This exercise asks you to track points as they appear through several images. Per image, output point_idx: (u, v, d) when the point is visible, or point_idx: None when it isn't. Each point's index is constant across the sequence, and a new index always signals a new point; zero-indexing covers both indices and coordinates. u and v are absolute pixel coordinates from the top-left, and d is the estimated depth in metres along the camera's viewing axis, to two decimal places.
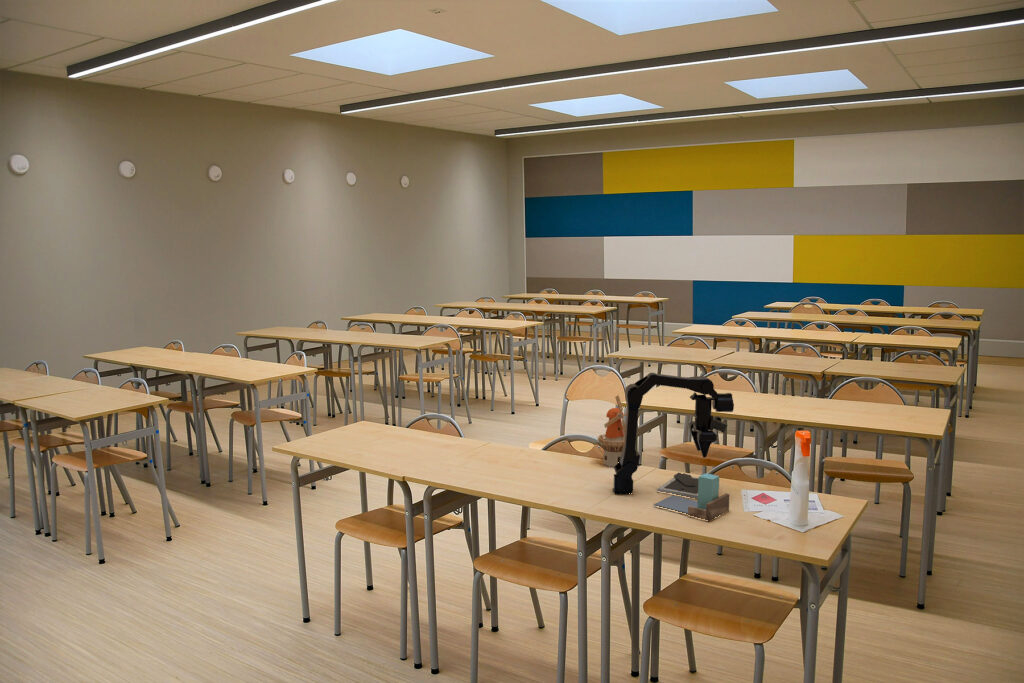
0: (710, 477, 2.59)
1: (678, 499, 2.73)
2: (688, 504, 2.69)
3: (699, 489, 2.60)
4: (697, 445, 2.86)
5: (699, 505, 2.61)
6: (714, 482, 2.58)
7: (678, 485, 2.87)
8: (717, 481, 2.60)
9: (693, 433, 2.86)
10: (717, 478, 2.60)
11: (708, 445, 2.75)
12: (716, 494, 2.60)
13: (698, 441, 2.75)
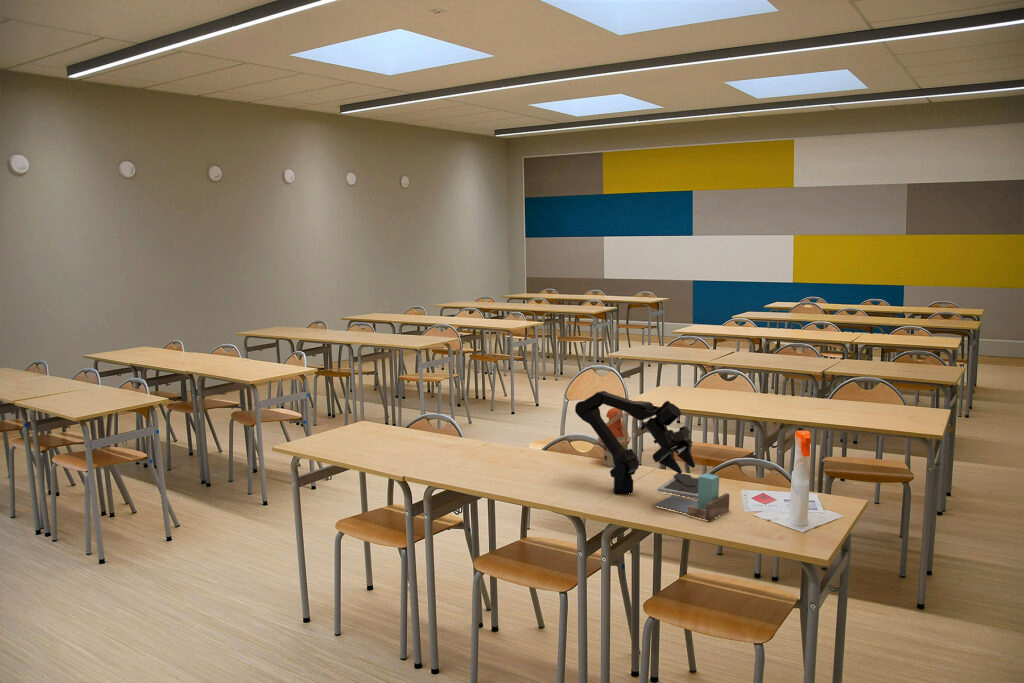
0: (710, 477, 2.59)
1: (678, 499, 2.73)
2: (688, 504, 2.69)
3: (699, 489, 2.60)
4: (689, 463, 2.70)
5: (699, 505, 2.61)
6: (714, 482, 2.58)
7: (678, 485, 2.87)
8: (717, 481, 2.60)
9: (679, 455, 2.73)
10: (717, 478, 2.60)
11: (672, 460, 2.62)
12: (716, 494, 2.60)
13: (661, 463, 2.65)
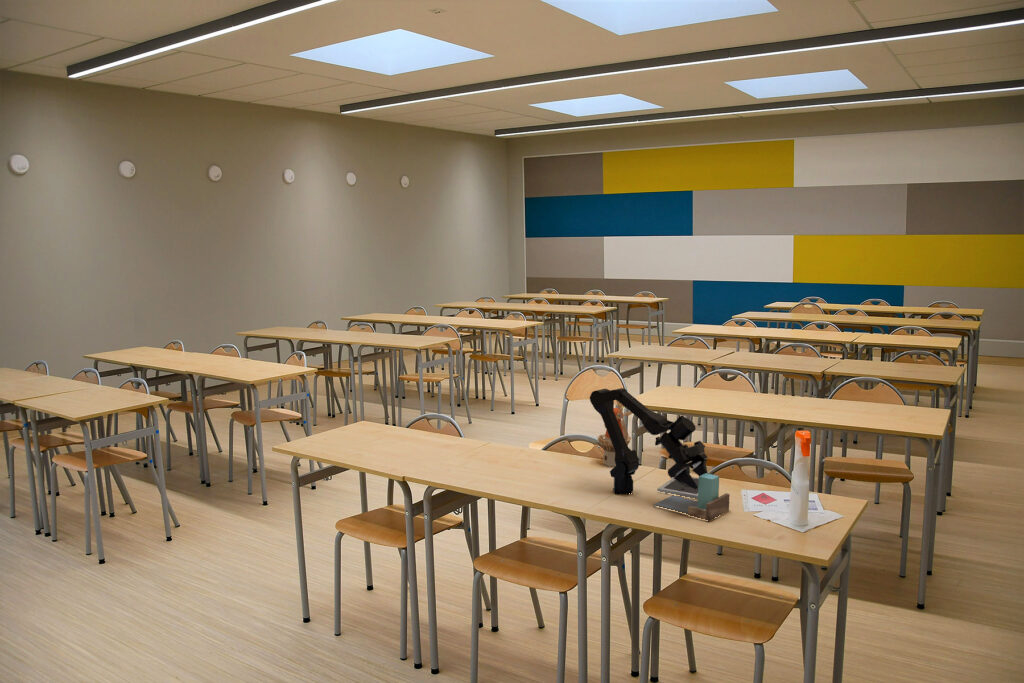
0: (710, 477, 2.59)
1: (678, 499, 2.73)
2: (688, 504, 2.69)
3: (699, 489, 2.60)
4: None
5: (699, 505, 2.61)
6: (714, 482, 2.58)
7: (678, 485, 2.87)
8: (717, 481, 2.60)
9: (694, 470, 2.70)
10: (717, 478, 2.60)
11: (687, 476, 2.59)
12: (716, 494, 2.60)
13: None
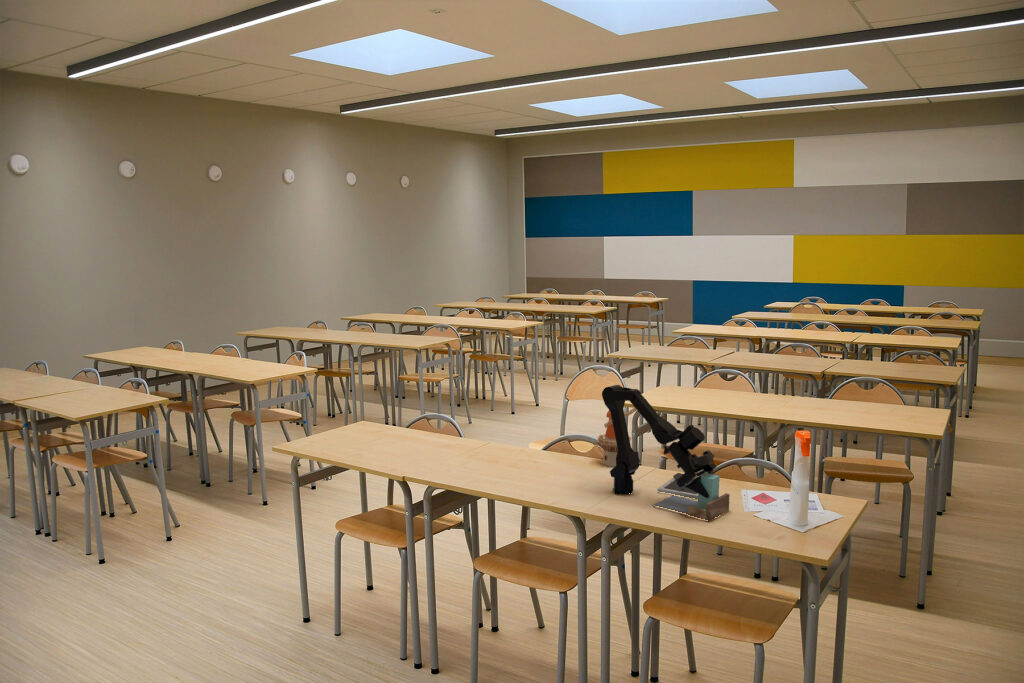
0: (710, 477, 2.59)
1: (678, 499, 2.73)
2: (688, 504, 2.69)
3: None
4: None
5: (699, 505, 2.61)
6: (714, 482, 2.58)
7: None
8: (717, 481, 2.60)
9: None
10: (717, 478, 2.60)
11: (699, 485, 2.58)
12: (716, 494, 2.60)
13: (687, 487, 2.61)
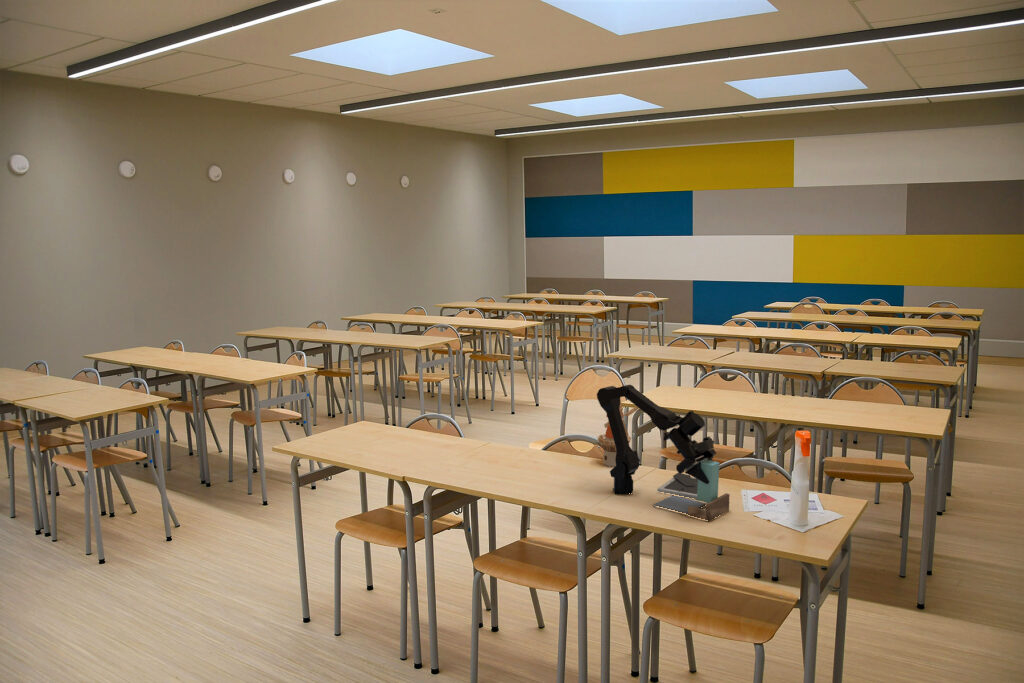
0: (710, 463, 2.59)
1: (678, 499, 2.73)
2: (688, 504, 2.69)
3: None
4: None
5: (699, 491, 2.61)
6: (714, 468, 2.58)
7: (677, 485, 2.87)
8: (717, 467, 2.60)
9: None
10: (717, 464, 2.59)
11: (699, 471, 2.58)
12: (716, 480, 2.60)
13: (687, 473, 2.60)
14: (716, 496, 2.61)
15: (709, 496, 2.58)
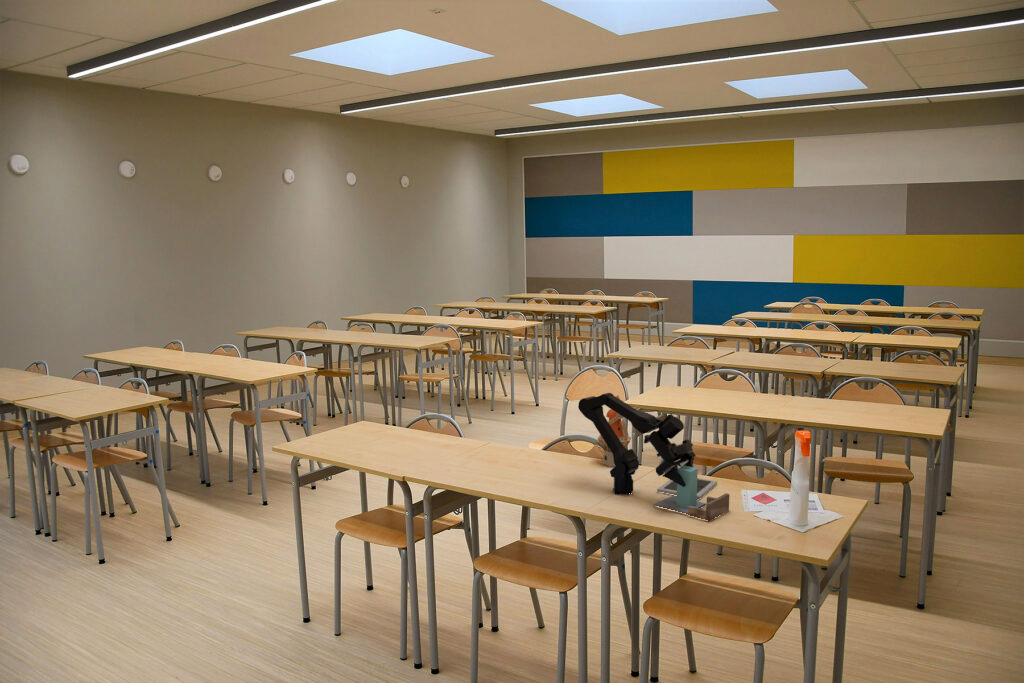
0: (688, 469, 2.64)
1: None
2: None
3: None
4: None
5: (678, 497, 2.66)
6: (692, 474, 2.63)
7: None
8: (696, 473, 2.65)
9: None
10: (695, 470, 2.65)
11: (675, 474, 2.62)
12: (695, 486, 2.66)
13: (665, 476, 2.65)
14: (695, 501, 2.67)
15: (688, 501, 2.64)
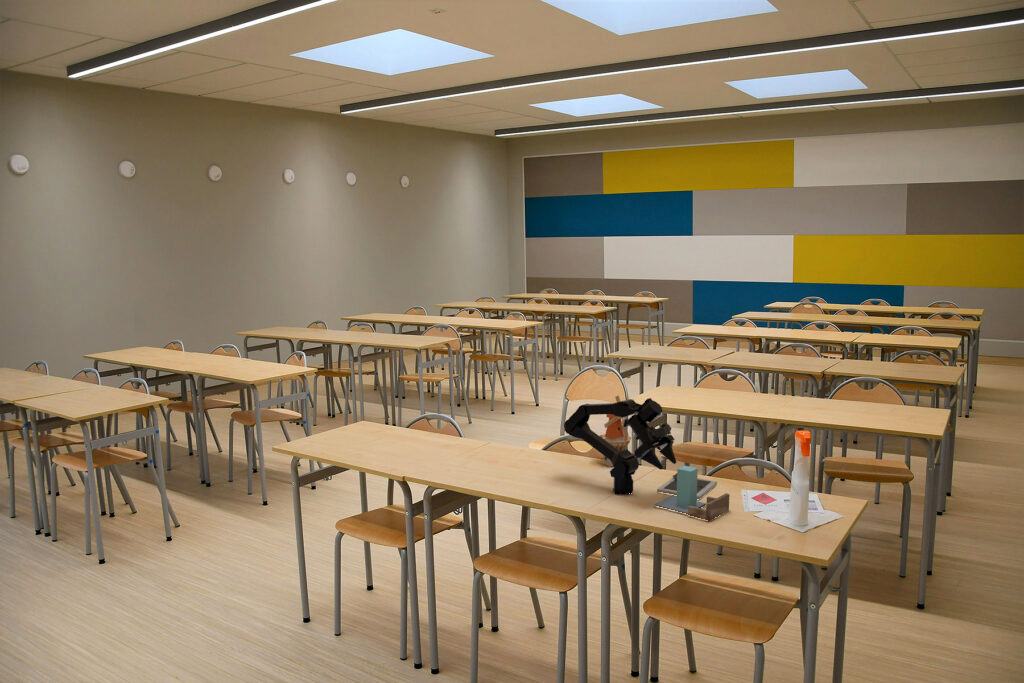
0: (688, 469, 2.64)
1: None
2: None
3: (678, 481, 2.66)
4: (670, 459, 2.75)
5: (678, 497, 2.66)
6: (692, 474, 2.63)
7: None
8: (696, 473, 2.65)
9: (661, 451, 2.78)
10: (695, 470, 2.65)
11: (653, 456, 2.67)
12: (695, 486, 2.66)
13: (642, 459, 2.69)
14: (695, 501, 2.67)
15: (688, 501, 2.64)
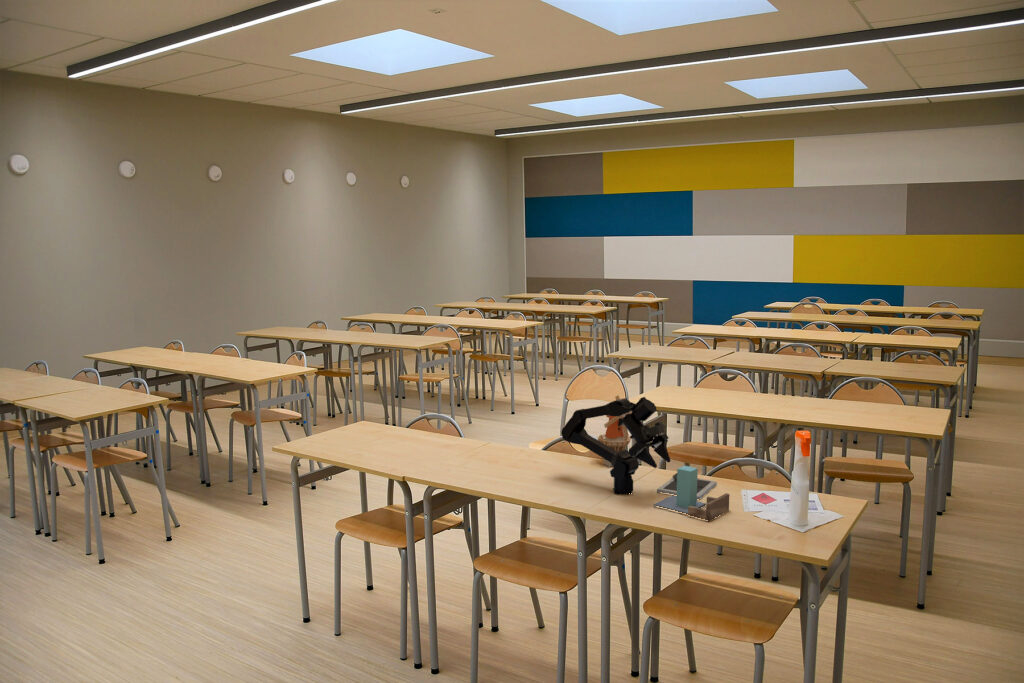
0: (688, 469, 2.64)
1: None
2: None
3: (678, 481, 2.66)
4: (665, 458, 2.76)
5: (678, 497, 2.66)
6: (692, 474, 2.63)
7: None
8: (696, 473, 2.65)
9: (655, 450, 2.79)
10: (695, 470, 2.65)
11: (647, 455, 2.69)
12: (695, 486, 2.66)
13: (637, 458, 2.71)
14: (695, 501, 2.67)
15: (688, 501, 2.64)
